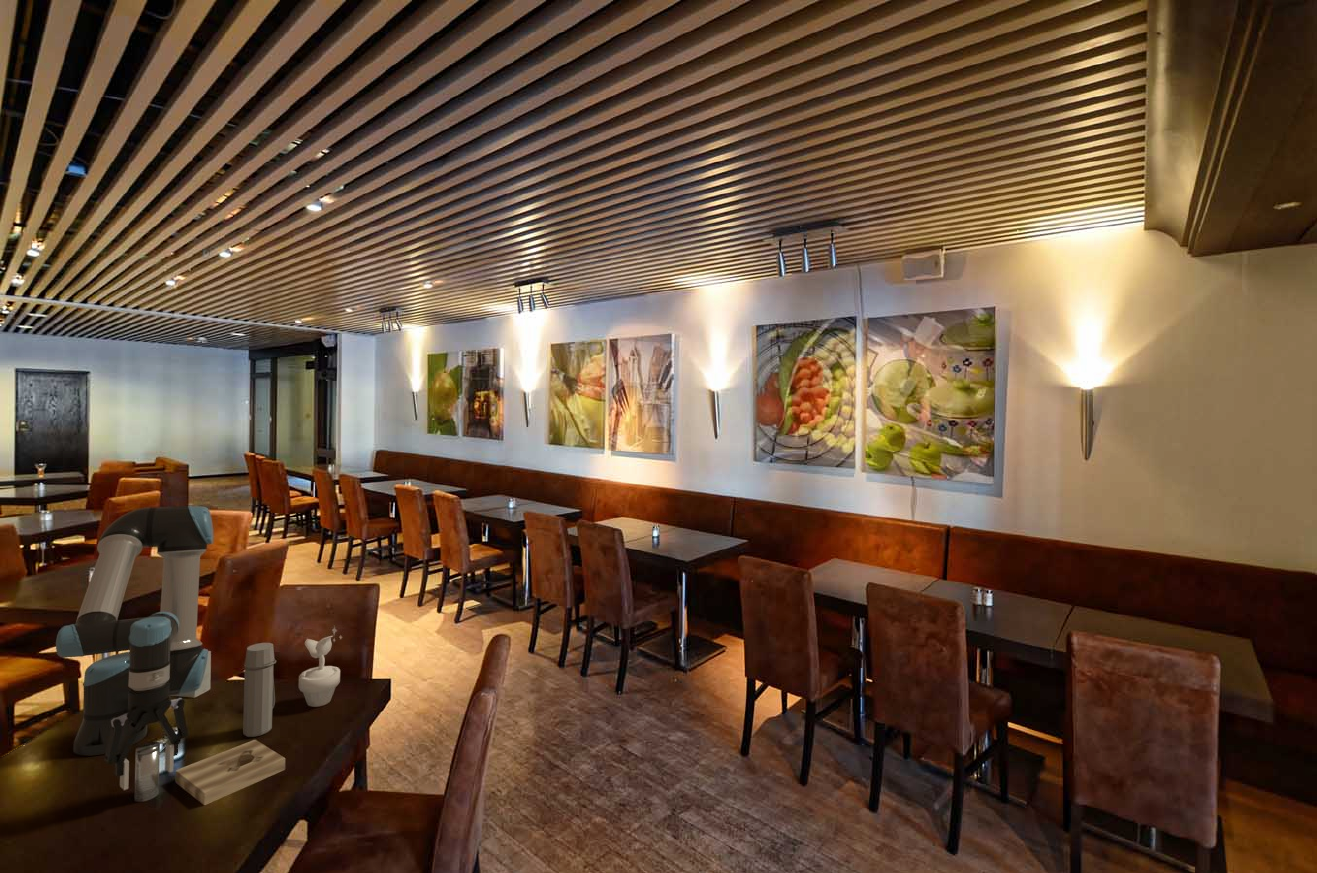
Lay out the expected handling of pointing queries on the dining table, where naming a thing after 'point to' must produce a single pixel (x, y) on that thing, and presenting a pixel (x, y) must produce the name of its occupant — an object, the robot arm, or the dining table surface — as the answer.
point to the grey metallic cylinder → (147, 771)
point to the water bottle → (258, 689)
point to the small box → (205, 683)
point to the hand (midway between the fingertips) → (147, 778)
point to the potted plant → (319, 674)
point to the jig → (229, 771)
